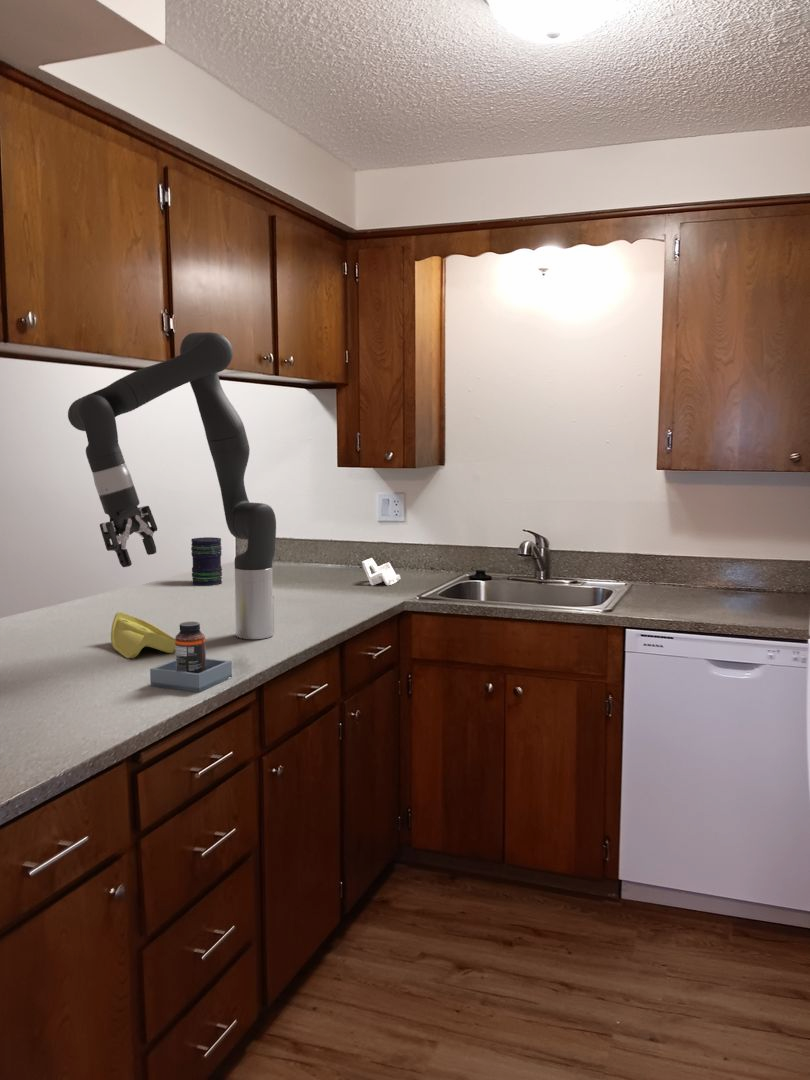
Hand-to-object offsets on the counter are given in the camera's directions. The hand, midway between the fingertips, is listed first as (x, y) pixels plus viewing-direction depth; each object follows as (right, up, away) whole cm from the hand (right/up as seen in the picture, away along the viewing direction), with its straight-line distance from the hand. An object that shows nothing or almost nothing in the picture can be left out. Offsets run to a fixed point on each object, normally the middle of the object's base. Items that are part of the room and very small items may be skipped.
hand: (140, 560), depth 197 cm
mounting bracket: (+50, -11, +109) cm, 120 cm away
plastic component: (-4, -22, +17) cm, 28 cm away
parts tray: (+14, -25, -11) cm, 30 cm away
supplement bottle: (+14, -24, -11) cm, 30 cm away
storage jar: (-9, -10, +107) cm, 108 cm away
